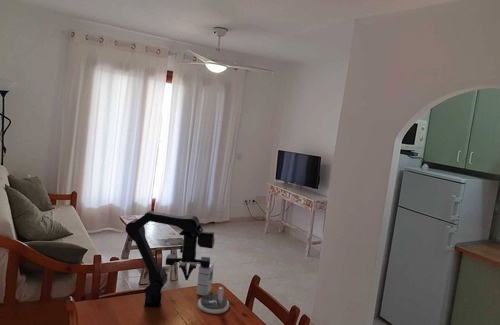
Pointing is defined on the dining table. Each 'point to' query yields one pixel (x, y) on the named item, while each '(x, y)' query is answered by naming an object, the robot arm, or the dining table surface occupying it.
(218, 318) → the dining table surface
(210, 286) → the syrup box
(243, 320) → the dining table surface
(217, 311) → the base
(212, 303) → the dial
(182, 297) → the dining table surface
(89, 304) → the dining table surface
